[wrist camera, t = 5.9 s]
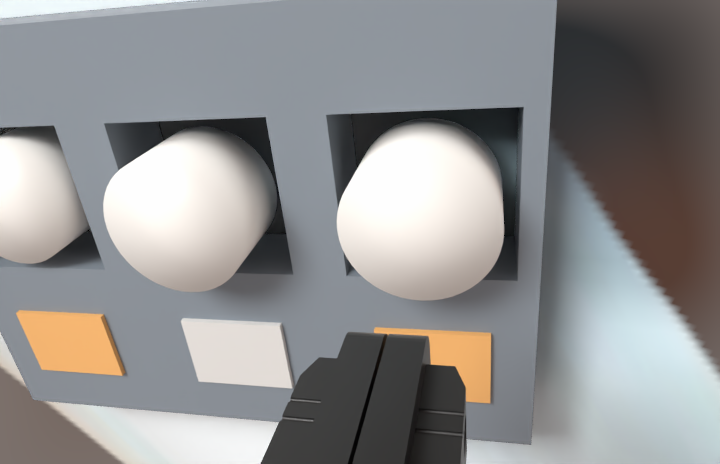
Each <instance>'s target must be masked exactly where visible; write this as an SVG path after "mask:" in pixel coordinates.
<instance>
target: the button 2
mask: <svg viewBox="0 0 720 464" xmlns="http://www.w3.org/2000/svg"><path fill="white" fill-rule="evenodd" d="M337 232H338V237H339V241H340V244H341V247H342V249H343V251H344V253H345V255H346V257H347V259H348V260H349V262H350V263H351V265H352V266H353V267H354V268H355V270H356V271H357V272H358V273H359V274H360V275H361V276H362V277H363V278H364V279H365V280H367V281H368V282H370V283H371V284H372V285H374V286H375V287H377V288H379V289H381V290H382V291H385V292H387V293H389V294H392V295H395V296H398V297H401V298H406V299H411V300H421V301H428V300H439V299H445V298H449V297H453V296H455V295H458V294H460V293H463V292H465V291H466V290H468V289H470V288H472V287H473V286H475V285H476V284H477V283H479V282H480V281H481V280H482V279H483V278H484V277H485V276H486V275H487V274H488V273H489V272H490V270H491V269H492V268H493V266H494V264H495V263H496V261H497V259H498V257H499V254H500V252H501V248H502V245H503V239H504V215H503V189H502V176H501V171H500V168H499V165H498V162H497V160H496V158H495V156H494V154H493V152H492V151H491V150H490V148H489V147H488V145H487V144H486V143H485V142H484V141H483V140H482V139H481V138H480V137H479V136H478V135H476V134H475V133H474V132H472V131H471V130H469V129H467V128H466V127H464V126H462V125H459V124H457V123H455V122H451V121H448V120H444V119H437V118H420V119H413V120H409V121H405V122H402V123H400V124H397V125H395V126H393V127H392V128H390V129H388V130H387V131H385V132H384V133H383V134H381V135H380V136H379V137H378V138H377V139H376V140H375V141H374V142H373V143H372V145H371V146H370V147H369V149H368V151H367V152H366V154H365V156H364V157H363V159H362V161H361V163H360V165H359V166H358V168H357V170H356V172H355V173H354V175H353V177H352V179H351V181H350V182H349V184H348V186H347V188H346V189H345V191H344V193H343V195H342V198H341V200H340V203H339V207H338V212H337Z"/></svg>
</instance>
